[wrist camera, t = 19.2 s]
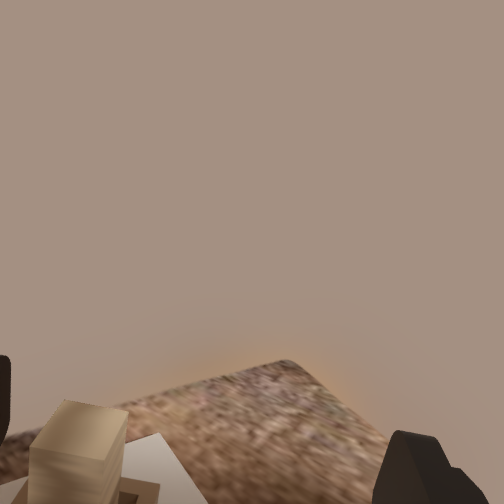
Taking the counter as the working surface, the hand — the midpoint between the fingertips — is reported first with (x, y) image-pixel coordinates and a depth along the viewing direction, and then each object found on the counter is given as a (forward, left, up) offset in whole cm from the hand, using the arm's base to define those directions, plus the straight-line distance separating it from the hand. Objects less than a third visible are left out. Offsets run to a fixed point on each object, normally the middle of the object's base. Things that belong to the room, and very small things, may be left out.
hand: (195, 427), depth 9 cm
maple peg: (-5, -20, -29) cm, 35 cm away
